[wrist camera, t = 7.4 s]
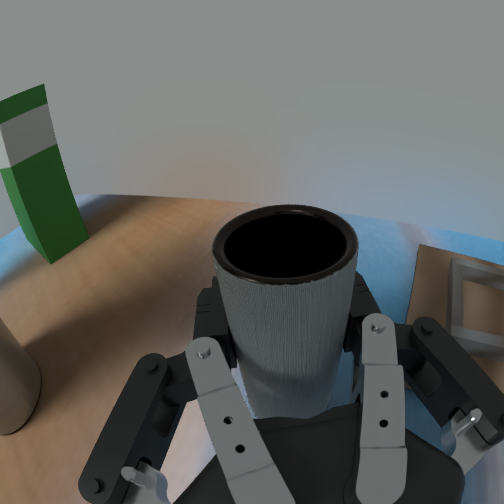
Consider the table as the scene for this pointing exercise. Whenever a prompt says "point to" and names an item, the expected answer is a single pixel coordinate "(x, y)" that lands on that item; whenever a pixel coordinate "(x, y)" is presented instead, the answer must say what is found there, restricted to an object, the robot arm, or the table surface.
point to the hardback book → (38, 175)
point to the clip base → (462, 304)
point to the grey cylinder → (287, 303)
